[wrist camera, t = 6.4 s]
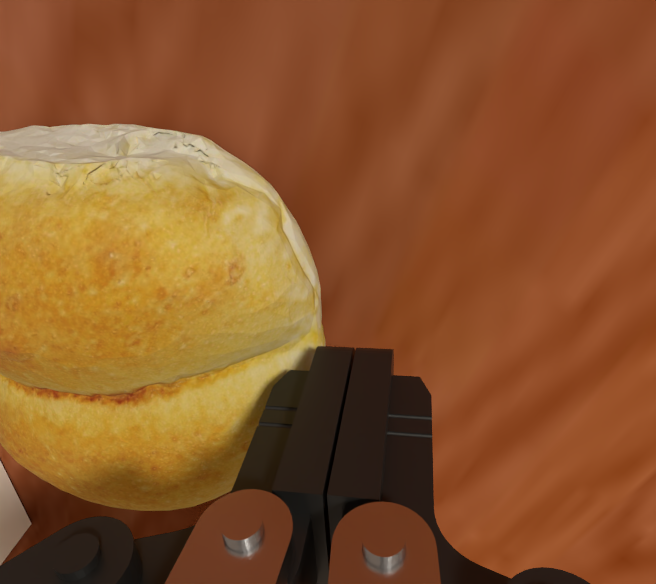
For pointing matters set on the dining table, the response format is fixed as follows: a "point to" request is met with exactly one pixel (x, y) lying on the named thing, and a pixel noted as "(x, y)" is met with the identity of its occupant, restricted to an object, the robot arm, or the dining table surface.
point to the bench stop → (10, 516)
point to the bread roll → (143, 310)
